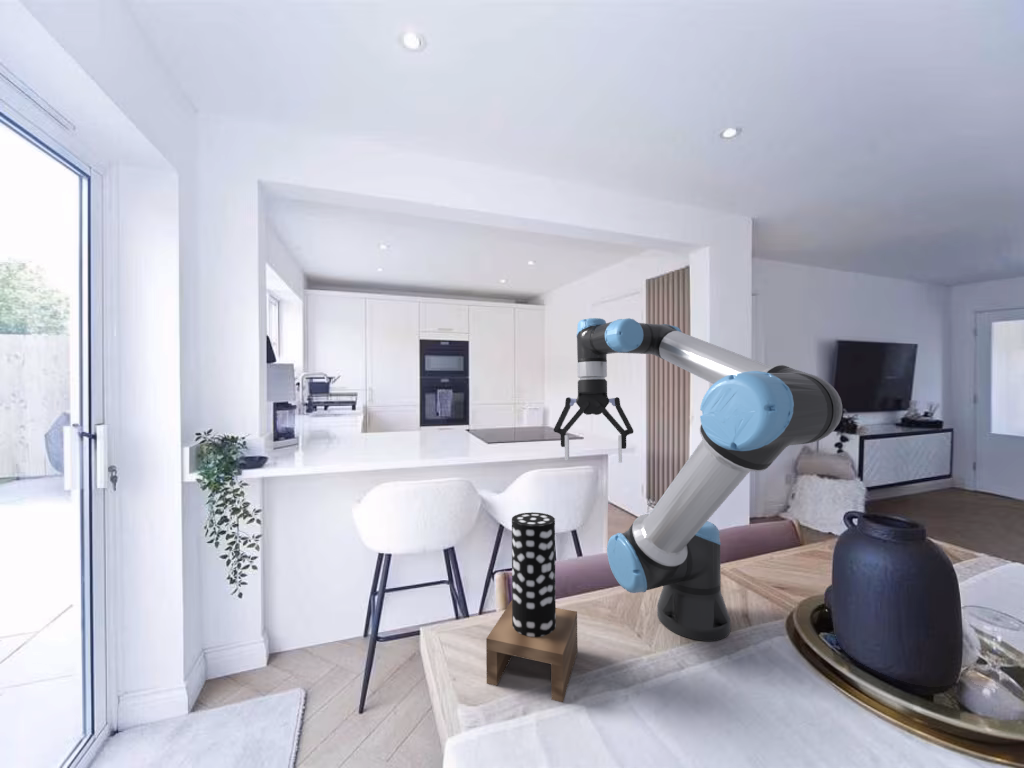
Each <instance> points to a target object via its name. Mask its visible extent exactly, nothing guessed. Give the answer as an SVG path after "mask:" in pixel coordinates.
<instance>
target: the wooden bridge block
mask: <svg viewBox="0 0 1024 768" xmlns="http://www.w3.org/2000/svg"><path fill="white" fill-rule="evenodd" d="M485 645H486V648H485V649H486V651H485V652H486V654H485V655H486V659H485V660H486V662H485V663H486V684H488V685H492V686H496V687H497V686H498V684H499V682H500V681H501V679H502V677H503V675H504V673H505V671H506V670H507V667H508V665H509V663H510V662H511V660H512V659H513V657H519V658H522V659H527V660H532V661H536V662H539V663H540V662H541V663H544V664H545V663H546V664H550V669H551V670H550V671H551V675H550V676H551V677H550V679H551V682H550V683H551V684H550V685H551V688H550V689H551V691H550V692H551V693H550V695H551V700H552V701H556V702H560V703H564V700H565V697H566V693H567V689H568V686H569V684H570V679H571V676H572V672H573V669H574V665H575V662H576V658H577V654H578V611H575V610H569V609H564V608H558V607H556V626H555V629H554V630H553V631H552V632H551V633H549V634H547V635H544V636H540V637H530V636H525V635H522V634H520V633H518V632H517V631H516V630H515V629H514V628H513V625H512V600H511V601H510V602H509V604H508V605H507V607H506V608H505V609H504V611H503V613H502V614H501V615H500V618H499V619H498V620H497V622H496V623H495V625H494V626H493V628H492V629H491V631H490V632H489V634H488V635H487V637H486V642H485Z"/></svg>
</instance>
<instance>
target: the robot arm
mask: <svg viewBox="0 0 1024 768" xmlns="http://www.w3.org/2000/svg"><path fill="white" fill-rule="evenodd" d="M576 349H577V350H576V351H577V354H576V355H577V358H576V359H577V378H579V379H578V380H577V397H576V398H572V397H566V398H565V402H564V403H565V405H564V407H563V410H562V411H561V413H560V415H559V418H558V420H557V422H556V424H555V425H554V427H553V433H557V434H559V435H560V446H561V448H564V461H569V460H570V433H569V434H567V433H568V431H569V430H570V429H571V428H572V426H573V425H575V423H576V422H577V421H578V420H579V419H580V417H581V416H582V415H583V414H584V415H586V416H588V415H595V416H596V415H597V416H599V415H601V414H602V415H603V416H604V417H605V418H606V419H607V420H608V421H609V422H610V423H611V425H612V426H613V427H614V429H616V430H617V432H618V433H619V435H618V441H617V442H618V463H623V454H622V453H623V449H624V450H625V449H626V448H627V436H629V435H632V434H634V428H633V427H632V425H631V422H630V421H629V419H628V417H627V415H626V414H625V411H624V410H623V407H622V405H621V400H620V397H612V398H611V397H610V398H609V397H608V381H607V379H606V378H607V377H608V371H607V370H608V365H607V364H608V361H607V360H608V359H607V357H608V355H610V354H638V355H640V354H641V355H652V356H655V357H658V358H660V359H662V360H664V361H666V362H668V363H670V364H673V366H676V367H678V368H680V369H683V370H685V371H686V372H688V373H690V374H692V375H694V376H696V377H699V378H701V379H702V380H705V381H707V382H708V383H711V384H712V385H711V386H710V387H709V388H708V389H707V391H706V393H705V394H704V395H703V399H702V401H701V404H700V411H701V413H702V414H701V415H700V416H699V419H700V423H701V424H700V426H699V434H700V437H701V439H702V440H700V442H699V443H698V445H697V446H696V448H695V450H693V452H692V454H691V455H690V457H689V458H688V459H687V461H686V462H685V463H684V465H683V466H682V467H681V469H680V470H679V472H678V474H676V476H675V477H674V479H673V480H672V481H671V483H670V484H669V486H668V487H667V489H666V490H665V492H664V493H663V495H662V496H661V497H660V498H659V500H658V501H657V503H656V504H655V505H654V507H652V510H651V511H650V512H649V513H647V514H645V513H644V514H642V515H640V516H638V517H637V518H635V520H634V521H633V522H632V524H631V525H630V527H629V529H627V531H624V532H622V533H621V532H617V533H615V534H613V535H611V536H610V538H608V541H607V547H606V554H607V560H608V563H609V567H610V570H611V572H612V575H613V577H614V578H615V579H616V581H617V583H618V584H619V585H620V587H621V588H623V589H624V590H626V592H629V593H632V594H636V593H637V594H638V593H645V592H647V591H649V590H654V589H656V588H662V590H661V592H660V595H659V598H658V601H657V605H656V607H657V608H656V609H657V611H656V613H657V618H658V620H659V622H660V624H662V626H664V627H665V628H666V629H668V630H670V631H671V632H673V633H675V634H677V635H680V636H681V637H685V638H688V639H691V640H697V641H703V642H705V641H707V642H711V641H712V642H713V641H719V640H722V639H725V638H726V637H727V636H728V635H730V632H731V617H730V614H729V611H728V608H727V606H726V603H725V599H724V597H723V594H722V588H721V586H722V585H721V581H722V580H721V575H722V574H721V545H722V543H721V539H720V531H719V528H718V527H717V526H716V525H715V524H714V523H712V522H711V521H709V519H710V518H711V517H712V516H713V515H714V514H715V512H716V511H717V510H718V509H720V507H721V506H722V504H723V503H724V502H725V501H726V500H727V499H728V498H729V496H731V494H732V493H733V492H734V491H735V489H736V488H737V487H738V486H739V485H740V483H741V482H742V481H743V480H744V479H745V478H746V477H747V475H748V474H749V473H750V472H763V471H765V470H767V469H768V468H769V467H770V466H771V465H772V464H773V463H774V462H775V460H776V459H777V458H778V457H779V456H780V454H782V452H783V451H784V450H785V449H786V448H788V447H789V446H796V445H797V446H798V445H807V444H813V443H816V442H819V441H821V440H823V439H825V438H826V437H828V436H829V435H831V434H832V433H833V432H834V431H835V429H836V428H837V427H838V426H839V424H840V422H841V420H842V415H843V404H842V399H841V397H840V395H839V393H838V391H837V390H836V389H835V388H834V386H833V385H832V384H831V383H829V382H828V381H827V380H826V379H823V378H822V377H819V376H818V375H814V374H812V373H808V372H805V371H802V370H797V369H794V368H792V367H789V366H787V365H783V364H776V365H773V366H770V365H768V364H765V363H762V362H759V361H757V360H755V359H752V358H749V357H747V356H745V355H741V354H740V353H736V352H734V351H731V350H729V349H726V348H724V347H721V346H718V345H716V344H713V343H710V342H708V341H705V340H703V339H700V338H698V337H694V336H693V335H690V334H687V333H684V332H682V330H681V329H680V328H679V326H675V325H671V324H665V323H663V324H661V323H660V324H659V323H658V324H657V323H646V322H645V323H644V322H638V321H637V320H635V319H634V318H630V317H629V318H619V319H616V320H613V321H610V322H607V321H606V320H605V319H603V318H600V317H599V318H597V317H593V318H592V317H590V318H585V319H584V318H583V319H580V320H579V321H578V322H577V330H576ZM575 403H576V405H577V406H578V407H579V409H578V410H577V411H576V412H575V414H574V415H573V416H572V417H571V419H570V420H568V422H567V423H566V425H565V426H564V427H563V428H561V427H562V426H563V424H564V422H565V420H566V418H567V416H568V413H569V411H570V409H571V407H573V406H574V404H575ZM609 404H611V405H612V406H613V407H615V409H616V411H617V412H618V415H619V416H620V418H621V420H622V422H623V424H624V426H625V428H626V429H624V428H623V427H622V425H620V424H619V422H618V421H617V420H616V419H615V418H614V416H612V414H610V412H609V410H608V409H607V406H608V405H609Z"/></svg>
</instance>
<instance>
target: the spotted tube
mask: <svg viewBox="0 0 1024 768" xmlns="http://www.w3.org/2000/svg"><path fill="white" fill-rule="evenodd" d="M511 601H512V625H513V628H514V629H515V630H516V631H517V632H518V633H520V634H522V635H525V636H530V637H540V636H544V635H547V634H549V633H551V632H552V631H553V630H554V629H555V626H556V608H557V607H556V605H557V604H556V518H555V517H554V516H553V515H551V514H548V513H543V512H522V513H518V514H515V515H513V516H512V517H511Z"/></svg>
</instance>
